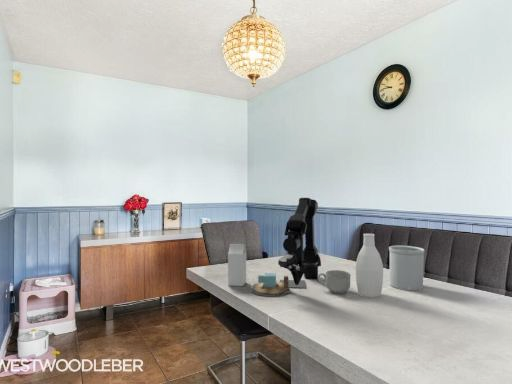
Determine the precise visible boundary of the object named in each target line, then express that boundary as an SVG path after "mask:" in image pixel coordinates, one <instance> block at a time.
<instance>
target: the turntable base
mask: <svg viewBox="0 0 512 384" xmlns="http://www.w3.org/2000/svg"><path fill="white" fill-rule="evenodd" d="M290 290H291V288H288V290H287V291H286V292H283V293H279V294H263V293H258V292H255V291H254V290H253V289H252V287H251V290H250V292H251V293H252V294H254V295H256V296H261V297H280V296H281V297H282V296H285V295H288V294H289V293H290Z"/></svg>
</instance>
